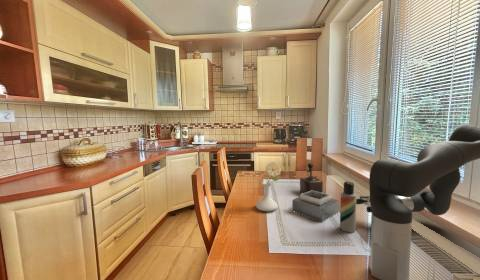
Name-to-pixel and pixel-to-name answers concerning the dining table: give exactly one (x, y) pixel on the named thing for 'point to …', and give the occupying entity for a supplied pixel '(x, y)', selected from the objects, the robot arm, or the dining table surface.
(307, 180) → the bronze sculpture
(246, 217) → the dining table surface
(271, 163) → the flower in vase
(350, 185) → the lotion bottle
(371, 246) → the robot arm
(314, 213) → the gray square holder
